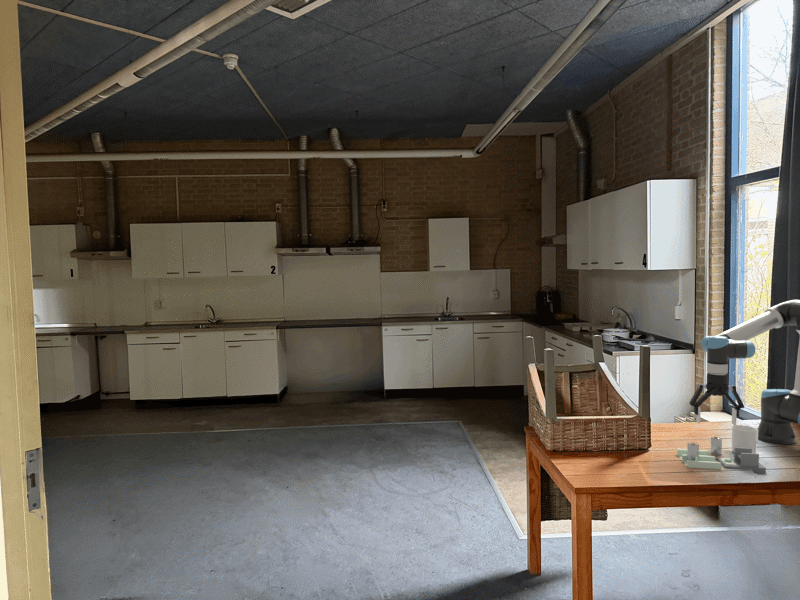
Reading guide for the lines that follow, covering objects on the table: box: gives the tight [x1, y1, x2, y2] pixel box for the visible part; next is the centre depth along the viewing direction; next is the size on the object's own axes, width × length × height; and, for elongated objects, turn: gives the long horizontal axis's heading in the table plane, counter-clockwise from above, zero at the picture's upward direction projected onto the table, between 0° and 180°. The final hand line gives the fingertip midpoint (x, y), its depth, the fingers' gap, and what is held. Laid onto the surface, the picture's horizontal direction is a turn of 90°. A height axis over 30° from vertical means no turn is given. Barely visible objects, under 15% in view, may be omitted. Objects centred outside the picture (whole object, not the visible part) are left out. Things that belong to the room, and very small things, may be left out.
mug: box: [731, 424, 759, 453], centre depth 231 cm, size 12×9×11 cm
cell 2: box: [710, 435, 723, 457], centre depth 228 cm, size 4×4×9 cm
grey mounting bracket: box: [716, 447, 767, 474], centre depth 215 cm, size 14×10×7 cm
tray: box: [676, 448, 722, 470], centre depth 219 cm, size 12×15×4 cm
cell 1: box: [686, 442, 700, 461], centre depth 217 cm, size 4×4×9 cm
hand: (715, 423), depth 227 cm, fingers open, 13 cm apart
